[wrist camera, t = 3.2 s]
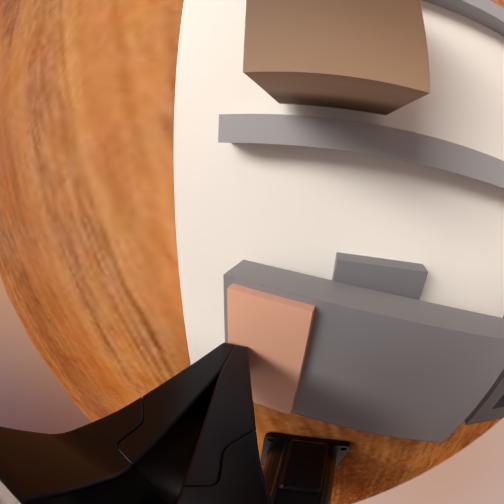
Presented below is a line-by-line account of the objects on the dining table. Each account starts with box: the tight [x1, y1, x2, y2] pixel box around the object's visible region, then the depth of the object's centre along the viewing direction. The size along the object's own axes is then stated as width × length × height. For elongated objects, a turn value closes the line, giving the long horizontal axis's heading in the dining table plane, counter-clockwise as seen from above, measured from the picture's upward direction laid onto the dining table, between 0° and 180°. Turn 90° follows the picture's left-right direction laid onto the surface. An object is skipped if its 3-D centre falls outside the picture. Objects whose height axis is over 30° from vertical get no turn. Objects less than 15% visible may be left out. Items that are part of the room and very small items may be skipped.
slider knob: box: [243, 0, 430, 115], centre depth 4 cm, size 4×3×4 cm
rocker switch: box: [223, 260, 504, 443], centre depth 7 cm, size 5×9×2 cm, turn 88°
